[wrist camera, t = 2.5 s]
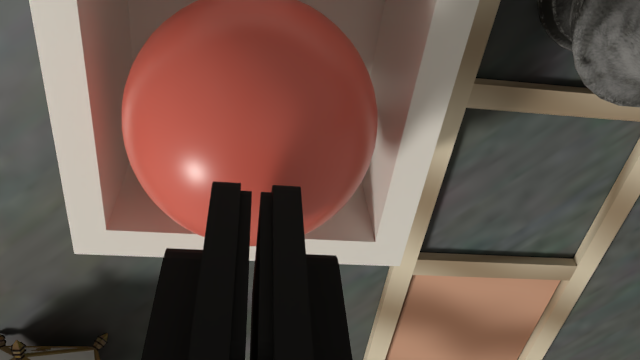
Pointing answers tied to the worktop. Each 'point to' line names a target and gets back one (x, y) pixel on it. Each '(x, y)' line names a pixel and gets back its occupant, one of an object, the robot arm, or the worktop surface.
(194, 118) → the pop dome
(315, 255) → the robot arm
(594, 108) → the game track
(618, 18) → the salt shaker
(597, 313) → the worktop surface
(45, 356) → the game die
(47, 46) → the dome housing
